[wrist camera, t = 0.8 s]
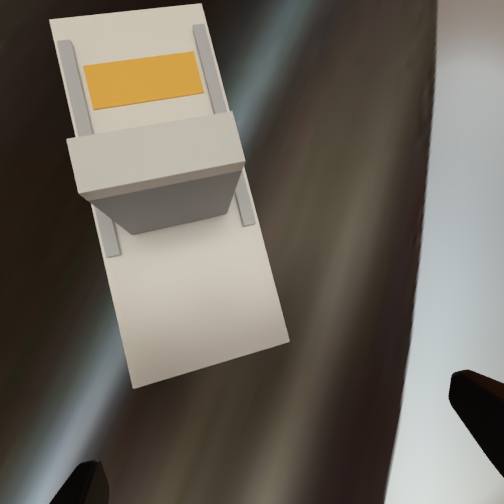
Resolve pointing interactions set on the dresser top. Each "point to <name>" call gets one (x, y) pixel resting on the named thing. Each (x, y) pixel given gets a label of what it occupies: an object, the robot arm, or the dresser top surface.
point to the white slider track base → (178, 236)
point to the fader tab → (160, 171)
